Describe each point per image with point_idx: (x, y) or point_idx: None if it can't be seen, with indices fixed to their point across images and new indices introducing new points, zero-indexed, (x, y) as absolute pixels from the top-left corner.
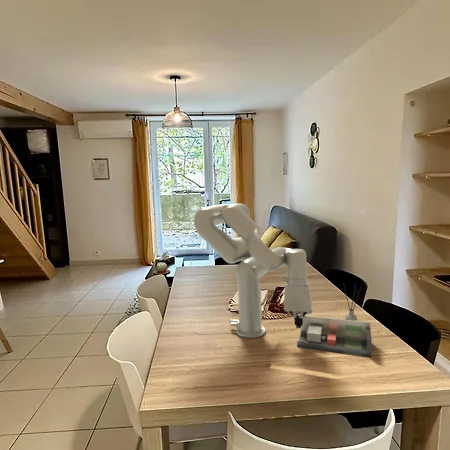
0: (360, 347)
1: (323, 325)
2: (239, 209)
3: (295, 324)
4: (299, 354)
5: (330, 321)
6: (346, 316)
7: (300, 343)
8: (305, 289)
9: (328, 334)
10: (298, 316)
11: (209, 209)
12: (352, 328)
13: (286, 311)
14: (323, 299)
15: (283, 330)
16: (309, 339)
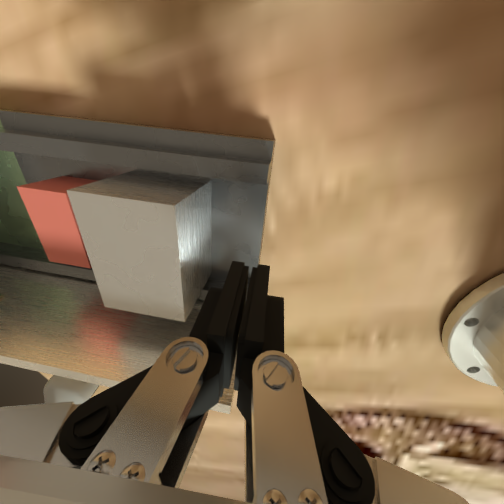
0: None
1: (107, 323)
2: None
3: (275, 297)
4: (256, 76)
5: (40, 341)
6: (77, 397)
7: (245, 161)
8: None
9: (83, 256)
10: (235, 383)
11: None
12: None
13: (431, 492)
14: (203, 471)
15: (337, 336)
16: (179, 188)
